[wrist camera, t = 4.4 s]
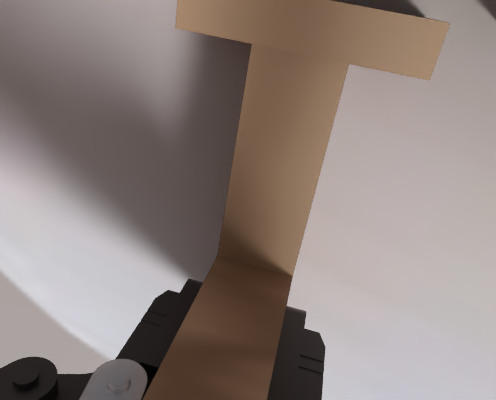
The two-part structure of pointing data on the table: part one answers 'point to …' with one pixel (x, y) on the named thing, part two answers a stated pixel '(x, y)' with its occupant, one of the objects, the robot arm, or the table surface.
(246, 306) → the wooden t-shaped piece
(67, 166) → the table surface
